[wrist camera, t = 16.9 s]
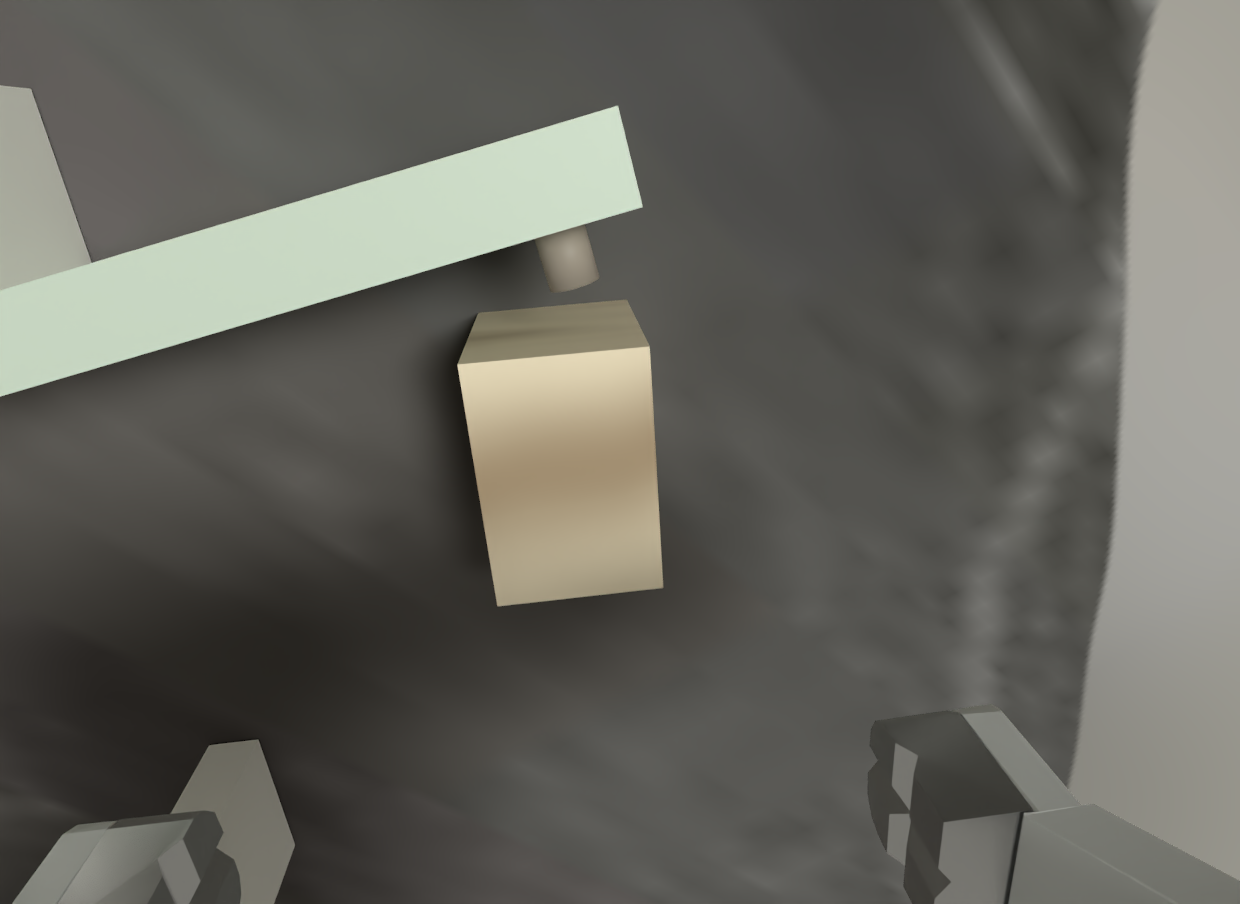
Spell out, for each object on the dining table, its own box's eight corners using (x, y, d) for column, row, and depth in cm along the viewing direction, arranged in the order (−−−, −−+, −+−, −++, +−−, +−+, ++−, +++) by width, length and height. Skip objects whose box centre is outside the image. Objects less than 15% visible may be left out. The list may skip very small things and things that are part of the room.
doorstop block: (639, 496, 22) (663, 587, 18) (507, 509, 22) (497, 606, 17) (626, 298, 20) (649, 346, 15) (478, 312, 20) (457, 364, 15)
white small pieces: (295, 845, 26) (206, 1088, 20) (250, 850, 26) (145, 1097, 20) (30, 88, 17) (-324, 52, 10) (-43, 93, 17) (-451, 60, 10)
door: (146, 374, 19) (-37, 479, 13) (87, 269, 18) (-141, 332, 12) (625, 233, 19) (659, 275, 13) (594, 118, 18) (617, 105, 12)
